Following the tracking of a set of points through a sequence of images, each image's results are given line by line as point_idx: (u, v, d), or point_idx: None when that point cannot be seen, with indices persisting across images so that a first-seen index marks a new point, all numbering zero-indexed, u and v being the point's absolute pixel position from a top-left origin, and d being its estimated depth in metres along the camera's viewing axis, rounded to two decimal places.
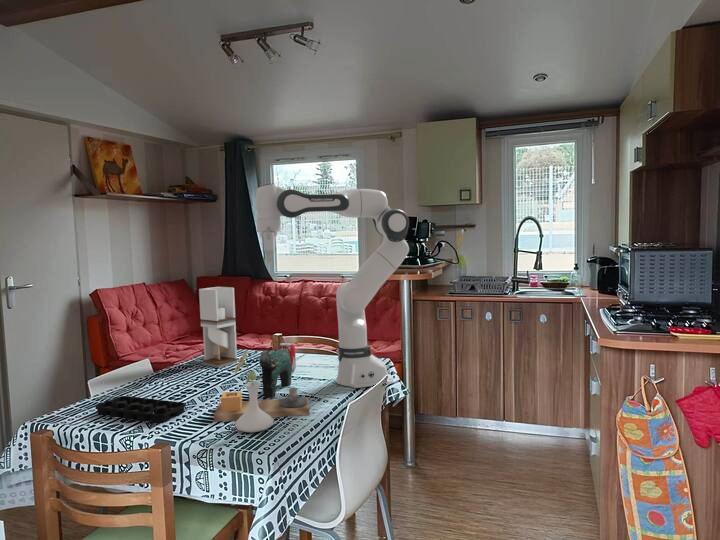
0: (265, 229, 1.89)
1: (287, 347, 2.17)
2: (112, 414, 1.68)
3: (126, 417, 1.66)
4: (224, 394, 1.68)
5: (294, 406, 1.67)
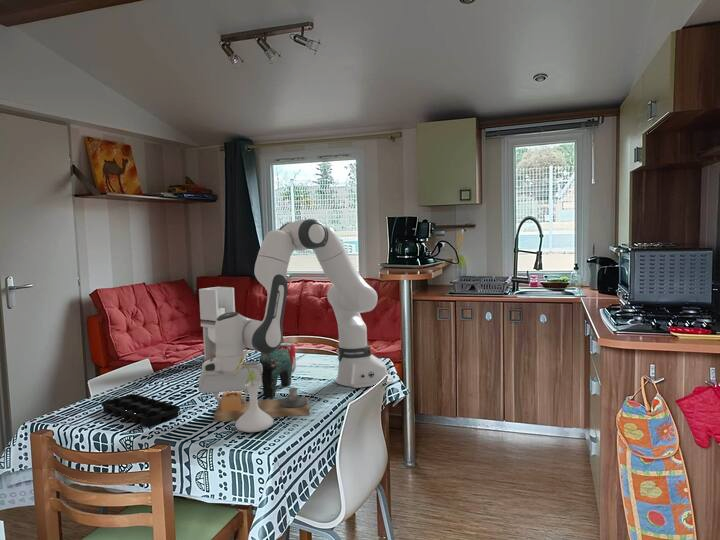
0: (243, 365, 1.67)
1: (287, 347, 2.17)
2: (113, 412, 1.70)
3: (123, 417, 1.66)
4: (224, 394, 1.68)
5: (294, 406, 1.67)
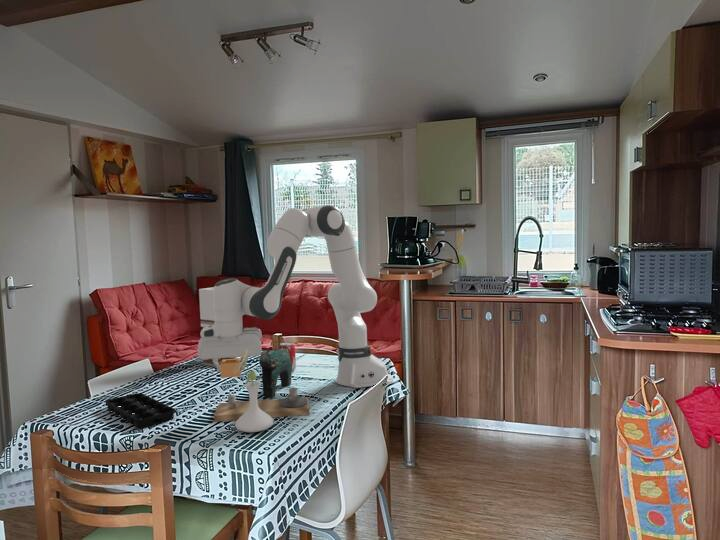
0: (242, 331, 1.66)
1: (287, 347, 2.17)
2: (114, 411, 1.71)
3: (121, 416, 1.67)
4: (223, 361, 1.68)
5: (294, 406, 1.67)
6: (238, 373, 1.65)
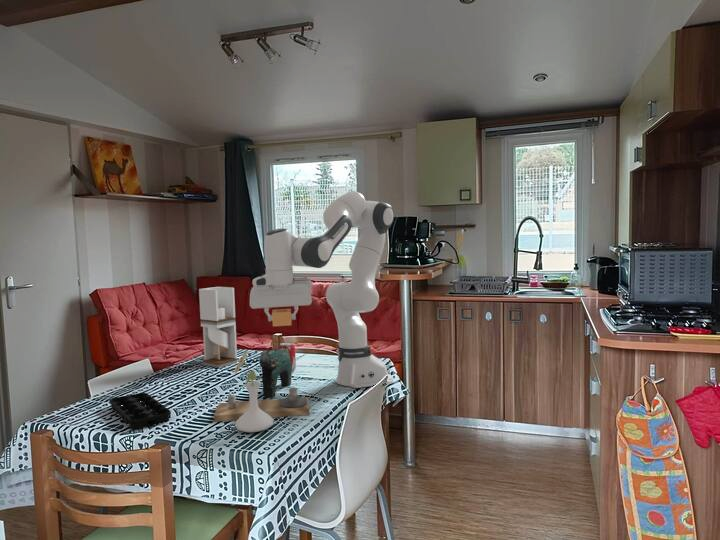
0: (292, 280, 1.67)
1: (287, 347, 2.17)
2: None
3: (120, 416, 1.67)
4: (274, 310, 1.69)
5: (294, 406, 1.67)
6: (289, 322, 1.66)
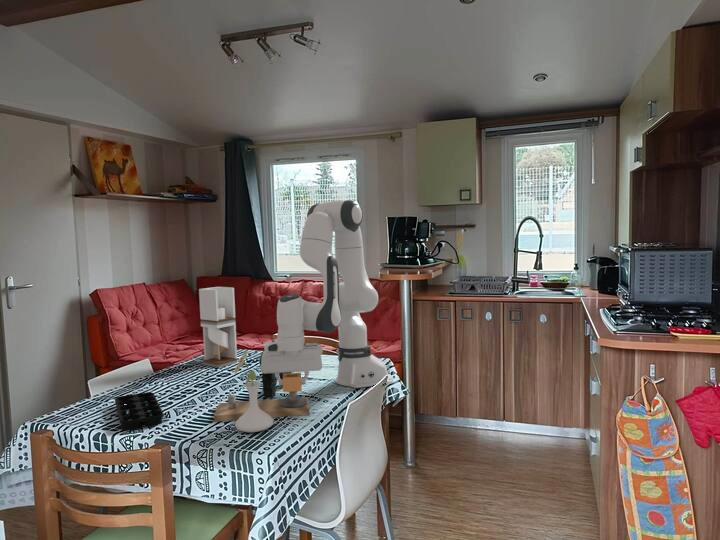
0: (304, 346, 1.69)
1: None
2: None
3: None
4: (284, 375, 1.71)
5: (294, 406, 1.67)
6: (300, 387, 1.68)
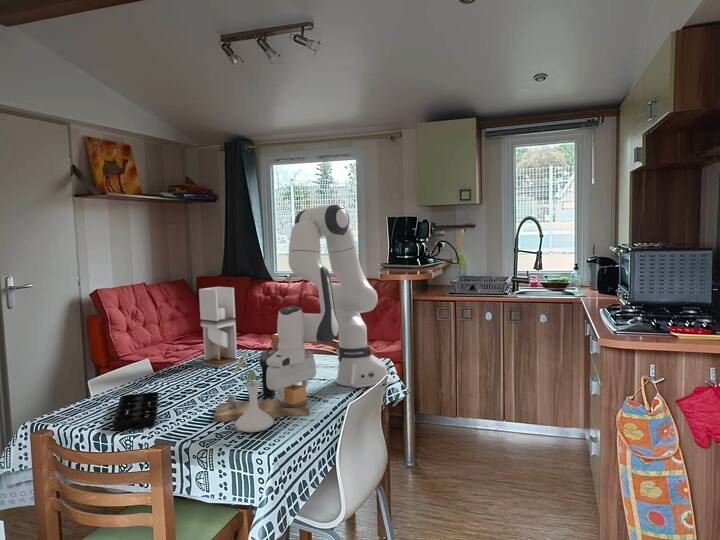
0: None
1: None
2: None
3: None
4: (286, 388, 1.69)
5: (294, 406, 1.67)
6: (305, 397, 1.71)
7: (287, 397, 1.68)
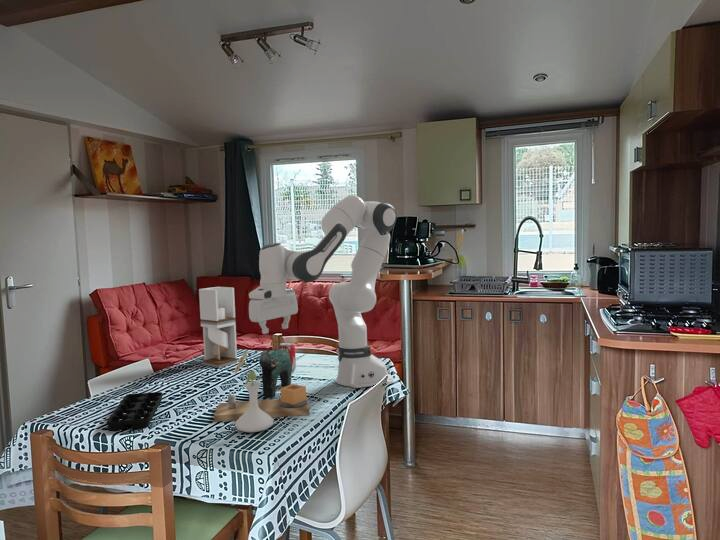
0: None
1: (287, 347, 2.17)
2: None
3: None
4: (286, 388, 1.69)
5: (294, 406, 1.67)
6: (305, 397, 1.71)
7: (287, 397, 1.68)
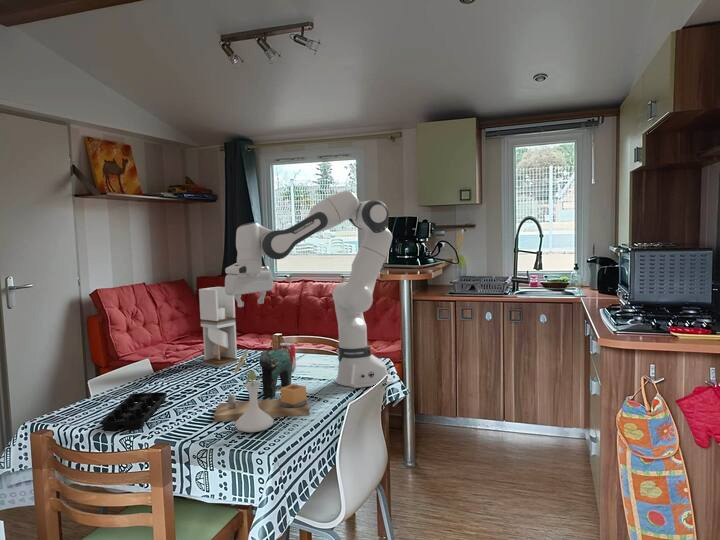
0: None
1: (287, 347, 2.17)
2: None
3: None
4: (286, 388, 1.69)
5: (294, 406, 1.67)
6: (305, 397, 1.71)
7: (287, 397, 1.68)
